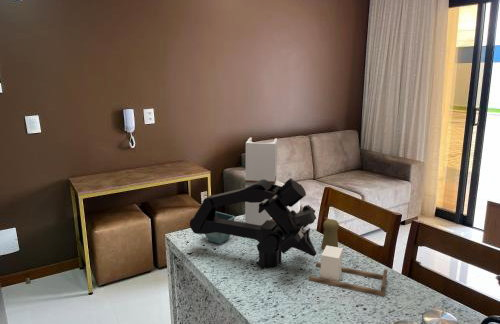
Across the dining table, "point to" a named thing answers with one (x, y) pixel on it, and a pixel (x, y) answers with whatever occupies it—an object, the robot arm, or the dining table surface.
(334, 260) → the cream block
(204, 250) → the dining table surface
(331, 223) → the olive bell shape
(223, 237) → the flower pot
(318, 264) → the board
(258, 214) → the tall white pillar
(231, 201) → the robot arm
